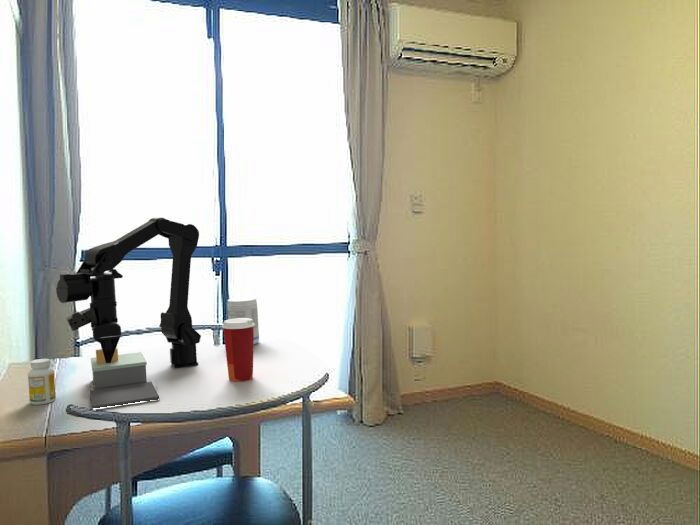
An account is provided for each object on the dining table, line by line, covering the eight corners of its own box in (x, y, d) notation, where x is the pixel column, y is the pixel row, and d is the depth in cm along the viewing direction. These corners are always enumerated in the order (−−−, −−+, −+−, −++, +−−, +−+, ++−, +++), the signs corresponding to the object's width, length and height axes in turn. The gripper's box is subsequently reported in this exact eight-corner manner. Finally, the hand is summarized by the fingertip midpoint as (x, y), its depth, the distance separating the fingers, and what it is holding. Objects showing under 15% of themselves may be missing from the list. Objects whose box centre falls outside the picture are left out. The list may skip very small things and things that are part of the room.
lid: (141, 358, 159) (140, 341, 159) (146, 368, 148) (145, 349, 147) (91, 364, 154) (89, 346, 153) (92, 375, 143) (91, 356, 142)
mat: (151, 385, 147) (151, 381, 147) (159, 400, 135) (159, 396, 135) (90, 394, 141) (90, 390, 141) (92, 410, 129) (91, 406, 129)
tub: (141, 373, 159) (140, 355, 159) (146, 384, 148) (145, 364, 148) (93, 380, 154) (91, 361, 154) (94, 391, 143) (93, 371, 143)
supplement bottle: (35, 406, 133) (32, 364, 132) (25, 402, 136) (22, 361, 136) (60, 400, 137) (57, 359, 136) (50, 396, 140) (47, 356, 140)
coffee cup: (262, 375, 154) (260, 317, 152) (247, 384, 146) (244, 323, 145) (234, 373, 156) (231, 317, 155) (217, 381, 149) (214, 322, 147)
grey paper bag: (250, 339, 200) (248, 295, 199) (264, 343, 193) (262, 298, 191) (223, 343, 194) (221, 299, 193) (238, 348, 187) (236, 301, 185)
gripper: (67, 296, 153) (71, 355, 155) (67, 305, 136) (72, 371, 138) (114, 292, 158) (117, 350, 159) (119, 300, 141) (123, 365, 142)
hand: (107, 359), depth 150 cm, fingers open, 9 cm apart
